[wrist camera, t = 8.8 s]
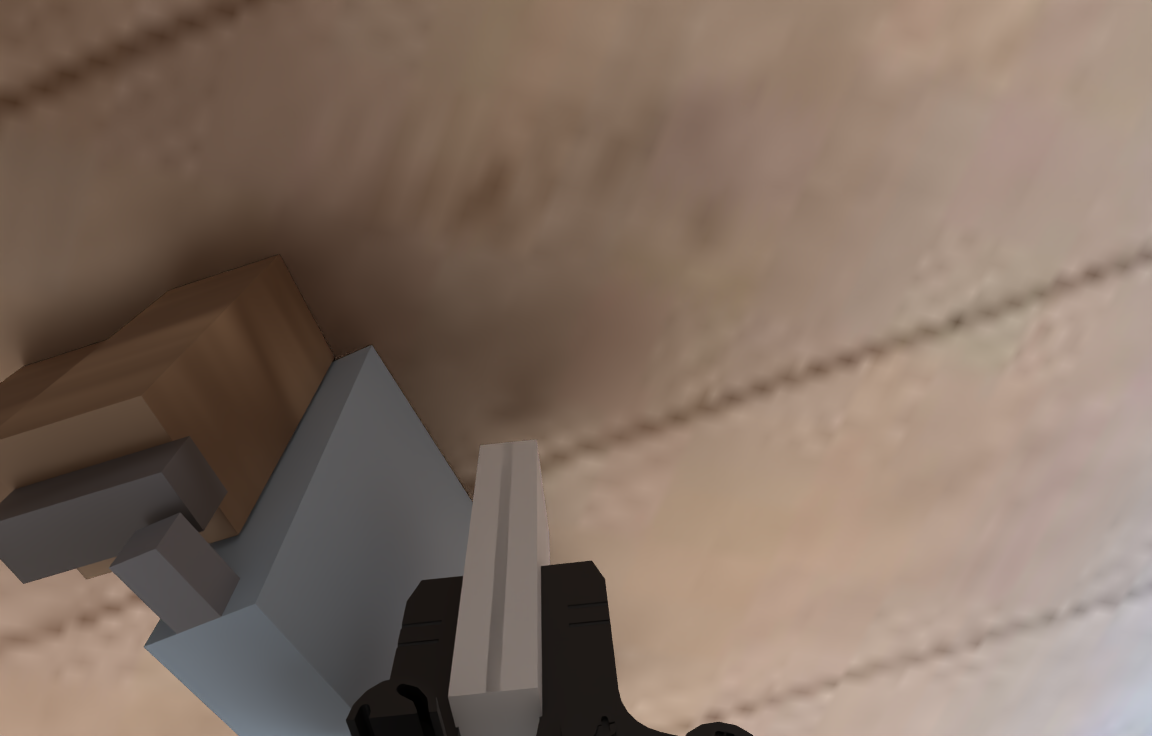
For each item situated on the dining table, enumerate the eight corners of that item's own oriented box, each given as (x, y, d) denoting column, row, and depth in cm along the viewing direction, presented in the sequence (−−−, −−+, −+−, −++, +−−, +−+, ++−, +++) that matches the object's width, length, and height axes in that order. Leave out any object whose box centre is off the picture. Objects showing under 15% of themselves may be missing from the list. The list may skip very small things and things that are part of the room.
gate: (543, 614, 23) (553, 929, 15) (490, 633, 24) (472, 953, 16) (341, 296, 18) (191, 533, 10) (272, 326, 18) (74, 582, 10)
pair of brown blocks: (4, 344, 18) (-624, 753, 8) (389, 218, 17) (206, 508, 7) (318, 747, 26) (193, 1199, 16) (591, 675, 25) (633, 1106, 15)
